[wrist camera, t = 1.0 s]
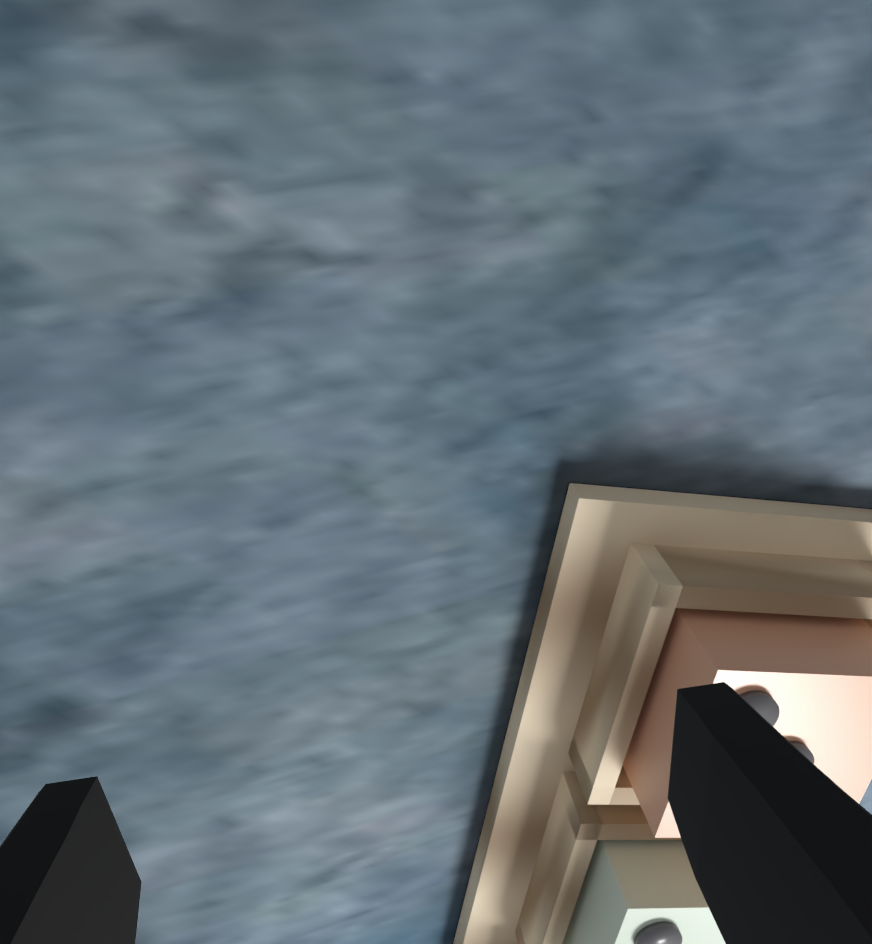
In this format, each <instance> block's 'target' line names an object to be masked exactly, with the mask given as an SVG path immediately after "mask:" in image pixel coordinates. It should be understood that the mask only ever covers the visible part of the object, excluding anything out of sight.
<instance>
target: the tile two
mask: <svg viewBox="0 0 872 944" xmlns="http://www.w3.org/2000/svg"><path fill="white" fill-rule="evenodd" d="M562 944H726V943H725V941H724V939H723V937H722V935H721V933H720V930H719V928H718V926H717V924H716V922H715V920H714V918H713V915H712V913H711V911H710V909H709V907H708V905H707V903H706V901H705V898H704V896H703V894H702V892H701V890H700V887H699V885H698V883H697V881H696V879H695V876H694V873H693V870H692V868H691V865H690V862H689V859H688V856H687V854H686V851H685V848H684V845H683V842H682V840H597V842H596V845H595V848H594V851H593V854H592V857H591V860H590V863H589V866H588V869H587V872H586V875H585V878H584V881H583V884H582V887H581V890H580V893H579V896H578V899H577V902H576V905H575V908H574V911H573V914H572V916H571V919H570V922H569V925H568V928H567V931H566V934H565V937H564V940H563V943H562Z"/></svg>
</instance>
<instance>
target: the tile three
mask: <svg viewBox="0 0 872 944" xmlns="http://www.w3.org/2000/svg"><path fill="white" fill-rule="evenodd" d="M721 682H725V683H726V684H727V685H729V686H730V687H731V688H732V689H733V690H734V691H736V692H737V693H738V694H739V695H740V696H741V697H742V698H743V699H744V700H745V701H746V702H747V703H748V704H749V705H751V706H752V707H753V708H754V709H755V710H756V711H757V712H758V713H759V714H760V715H761V716H762V717H763V718H764V719H765V720H766V721H768V722H769V723H770V724H771V725H772V726H773V727H774V728H775V729H776V730H777V731H778V732H779V733H780V734H781V735H783V736H784V737H785V738H786V739H787V740H788V741H789V742H790V743H791V744H792V745H793V746H794V747H796V748H797V749H798V750H799V751H800V752H801V753H802V754H803V755H804V756H805V757H806V758H808V759H809V760H810V761H811V762H812V763H813V764H814V765H815V766H816V767H817V768H819V769H820V770H821V771H822V772H823V773H824V774H825V775H826V776H828V777H829V778H830V779H831V780H832V781H833V782H834V783H835V784H837V785H838V786H839V787H840V788H841V789H842V790H843V791H845V792H846V793H847V794H848V795H849V796H850V797H852V798H853V799H854V800H855V801H856V802H857V803H860V801H861V799H862V797H863V795H864V793H865V791H866V789H867V787H868V785H869V783H870V781H871V779H872V628H871V627H870V626H869V625H868V624H867V623H866V622H865V621H864V620H863V619H859V618H841V617H824V616H807V615H790V614H772V613H755V612H738V611H721V610H704V609H686V608H675V611H674V614H673V617H672V620H671V623H670V626H669V629H668V632H667V635H666V638H665V641H664V644H663V647H662V649H661V652H660V655H659V658H658V661H657V664H656V667H655V670H654V673H653V676H652V679H651V682H650V685H649V688H648V691H647V694H646V697H645V700H644V703H643V706H642V709H641V712H640V715H639V718H638V721H637V724H636V727H635V730H634V733H633V736H632V738H631V741H630V744H629V747H628V750H627V753H626V756H625V759H624V762H623V767H624V770H625V772H626V774H627V776H628V779H629V781H630V783H631V785H632V788H633V790H634V792H635V794H636V797H637V799H638V801H639V803H640V806H641V808H642V810H643V812H644V815H645V817H646V819H647V821H648V824H649V826H650V828H651V830H652V833H653V835H654V837H655V838H681V836H680V833H679V830H678V827H677V824H676V821H675V818H674V816H673V813H672V810H671V807H670V804H669V801H668V788H669V777H670V766H671V755H672V744H673V733H674V721H675V710H676V699H677V689H681V688H688V687H694V686H701V685H707V684H714V683H721Z"/></svg>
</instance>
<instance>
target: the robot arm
mask: <svg viewBox="0 0 872 944" xmlns="http://www.w3.org/2000/svg"><path fill="white" fill-rule="evenodd" d="M668 801H669V804H670V807H671V810H672V813H673V816H674V818H675V821H676V824H677V827H678V830H679V833H680V836H681V839H682V842H683V845H684V848H685V851H686V854H687V856H688V859H689V862H690V865H691V868H692V870H693V873H694V876H695V879H696V881H697V883H698V885H699V887H700V890H701V892H702V894H703V896H704V898H705V901H706V903H707V905H708V907H709V909H710V911H711V913H712V915H713V918H714V920H715V922H716V924H717V926H718V928H719V930H720V933H721V935H722V937H723V939H724V941H725V943H726V944H872V815H871V814H870V813H869V812H868V811H867V810H865V809H864V808H863V807H862V806H861V805H860V804H859V803H857V802H856V801H855V800H854V799H853V798H852V797H850V796H849V795H848V794H847V793H846V792H845V791H843V790H842V789H841V788H840V787H839V786H838V785H837V784H835V783H834V782H833V781H832V780H831V779H830V778H829V777H828V776H826V775H825V774H824V773H823V772H822V771H821V770H820V769H819V768H817V767H816V766H815V765H814V764H813V763H812V762H811V761H810V760H809V759H808V758H806V757H805V756H804V755H803V754H802V753H801V752H800V751H799V750H798V749H797V748H796V747H794V746H793V745H792V744H791V743H790V742H789V741H788V740H787V739H786V738H785V737H784V736H783V735H781V734H780V733H779V732H778V731H777V730H776V729H775V728H774V727H773V726H772V725H771V724H770V723H769V722H768V721H766V720H765V719H764V718H763V717H762V716H761V715H760V714H759V713H758V712H757V711H756V710H755V709H754V708H753V707H752V706H751V705H749V704H748V703H747V702H746V701H745V700H744V699H743V698H742V697H741V696H740V695H739V694H738V693H737V692H736V691H734V690H733V689H732V688H731V687H730V686H729V685H727V684H726V683H725V682H721V683H714V684H707V685H701V686H694V687H688V688H681V689H677V699H676V710H675V721H674V733H673V744H672V755H671V766H670V777H669V788H668ZM140 890H141V880H140V878H139V875H138V873H137V871H136V868H135V866H134V863H133V861H132V859H131V856H130V854H129V851H128V849H127V847H126V844H125V842H124V839H123V837H122V835H121V832H120V830H119V827H118V825H117V823H116V820H115V818H114V816H113V813H112V811H111V808H110V806H109V804H108V801H107V799H106V796H105V794H104V792H103V789H102V787H101V784H100V782H99V780H98V777H90V778H84V779H77V780H70V781H64V782H57V783H50V784H46V785H45V786H44V787H43V788H42V789H41V791H40V792H39V793H38V794H37V796H36V797H35V799H34V800H33V801H32V803H31V804H30V805H29V807H28V808H27V810H26V811H25V812H24V814H23V815H22V817H21V818H20V819H19V821H18V822H17V824H16V825H15V826H14V828H13V829H12V831H11V832H10V833H9V835H8V836H7V838H6V839H5V841H4V842H3V843H2V845H1V846H0V944H135V938H136V929H137V919H138V909H139V899H140Z"/></svg>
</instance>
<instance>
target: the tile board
mask: <svg viewBox="0 0 872 944" xmlns="http://www.w3.org/2000/svg"><path fill="white" fill-rule="evenodd" d="M675 608H686V609H704V610H721V611H738V612H755V613H772V614H790V615H807V616H824V617H841V618H859V619H863V620H864V621H865V622H866V623H867V624H868V625H869V626H870V627H871V628H872V509H863V508H852V507H840V506H829V505H817V504H805V503H794V502H782V501H771V500H759V499H748V498H736V497H725V496H713V495H702V494H690V493H679V492H667V491H656V490H644V489H633V488H621V487H609V486H598V485H586V484H575V483H570V484H569V488H568V492H567V495H566V499H565V503H564V507H563V511H562V515H561V519H560V523H559V527H558V531H557V535H556V539H555V543H554V547H553V551H552V555H551V559H550V563H549V567H548V571H547V575H546V579H545V582H544V586H543V590H542V594H541V598H540V602H539V606H538V610H537V614H536V618H535V622H534V626H533V630H532V634H531V638H530V642H529V646H528V650H527V654H526V658H525V662H524V666H523V669H522V673H521V677H520V681H519V685H518V689H517V693H516V697H515V701H514V705H513V709H512V713H511V717H510V721H509V725H508V729H507V733H506V737H505V741H504V745H503V749H502V753H501V757H500V760H499V764H498V768H497V772H496V776H495V780H494V784H493V788H492V792H491V796H490V800H489V804H488V808H487V812H486V816H485V820H484V824H483V828H482V832H481V836H480V840H479V844H478V847H477V851H476V855H475V859H474V863H473V867H472V871H471V875H470V879H469V883H468V887H467V891H466V895H465V899H464V903H463V907H462V911H461V915H460V919H459V923H458V927H457V931H456V934H455V938H454V942H453V944H562V943H563V940H564V937H565V934H566V931H567V928H568V925H569V922H570V919H571V916H572V914H573V911H574V908H575V905H576V902H577V899H578V896H579V893H580V890H581V887H582V884H583V881H584V878H585V875H586V872H587V869H588V866H589V863H590V860H591V857H592V854H593V851H594V848H595V845H596V842H597V840H682V839H681V838H655V837H654V835H653V833H652V830H651V828H650V826H649V824H648V821H647V819H646V817H645V815H644V812H643V810H642V808H641V806H640V803H639V801H638V799H637V797H636V794H635V792H634V790H633V788H632V785H631V783H630V781H629V779H628V776H627V774H626V772H625V770H624V767H623V762H624V759H625V756H626V753H627V750H628V747H629V744H630V741H631V738H632V736H633V733H634V730H635V727H636V724H637V721H638V718H639V715H640V712H641V709H642V706H643V703H644V700H645V697H646V694H647V691H648V688H649V685H650V682H651V679H652V676H653V673H654V670H655V667H656V664H657V661H658V658H659V655H660V652H661V649H662V647H663V644H664V641H665V638H666V635H667V632H668V629H669V626H670V623H671V620H672V617H673V614H674V611H675Z"/></svg>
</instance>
